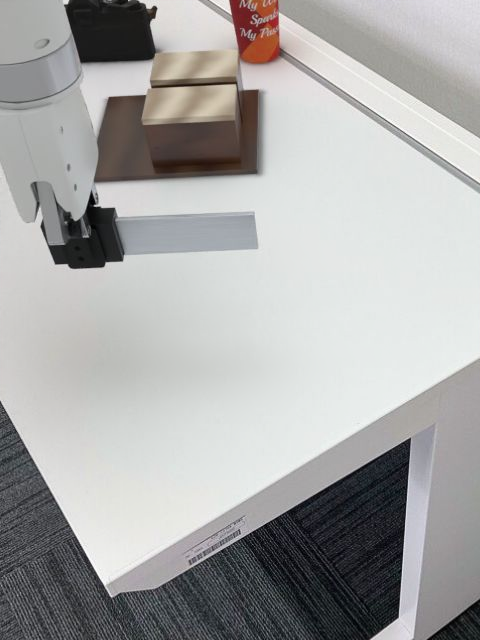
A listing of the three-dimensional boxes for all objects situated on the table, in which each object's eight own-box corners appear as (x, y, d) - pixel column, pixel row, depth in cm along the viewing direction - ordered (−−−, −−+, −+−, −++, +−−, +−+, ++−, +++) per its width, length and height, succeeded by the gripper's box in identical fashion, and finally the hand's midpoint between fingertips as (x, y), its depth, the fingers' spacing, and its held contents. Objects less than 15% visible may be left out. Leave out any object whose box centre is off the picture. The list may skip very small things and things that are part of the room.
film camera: (155, 22, 124) (141, -42, 116) (170, 58, 116) (156, -9, 108) (42, 42, 120) (20, -23, 112) (49, 80, 112) (27, 13, 105)
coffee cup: (250, 75, 112) (238, -31, 101) (222, 53, 117) (207, -51, 105) (298, 57, 115) (291, -47, 104) (269, 37, 120) (259, -66, 109)
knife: (55, 265, 68) (39, 226, 64) (59, 248, 69) (44, 210, 66) (258, 255, 69) (253, 217, 65) (258, 239, 70) (254, 201, 67)
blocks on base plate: (89, 184, 95) (71, 129, 89) (110, 102, 108) (95, 50, 102) (257, 175, 96) (250, 120, 90) (259, 95, 108) (253, 42, 103)
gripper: (-3, 12, 60) (64, 200, 74) (-61, 128, 49) (30, 322, 63) (94, 9, 60) (142, 197, 74) (57, 124, 50) (121, 317, 64)
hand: (90, 253), depth 69 cm, fingers closed on knife, 2 cm apart
